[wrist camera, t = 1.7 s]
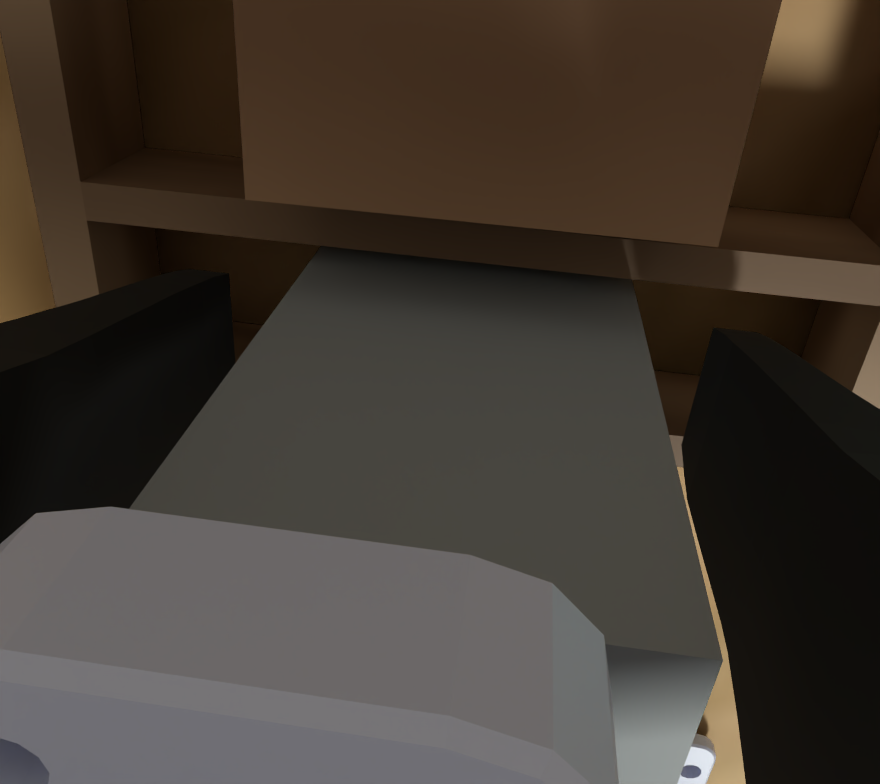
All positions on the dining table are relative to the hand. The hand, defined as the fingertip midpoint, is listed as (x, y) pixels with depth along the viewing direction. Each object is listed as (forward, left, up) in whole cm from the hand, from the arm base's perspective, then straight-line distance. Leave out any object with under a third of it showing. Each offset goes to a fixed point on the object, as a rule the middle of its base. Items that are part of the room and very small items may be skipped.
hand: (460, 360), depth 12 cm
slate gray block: (0, 0, -3) cm, 3 cm away
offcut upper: (+4, 0, -1) cm, 4 cm away
